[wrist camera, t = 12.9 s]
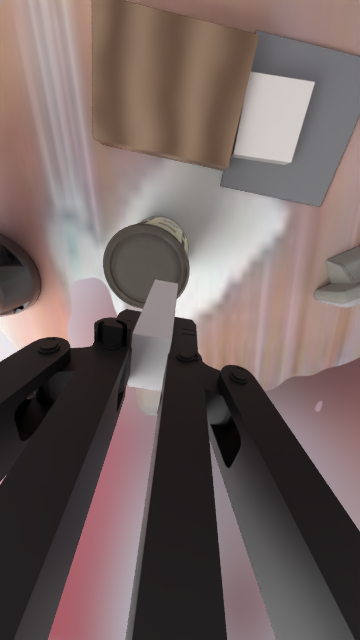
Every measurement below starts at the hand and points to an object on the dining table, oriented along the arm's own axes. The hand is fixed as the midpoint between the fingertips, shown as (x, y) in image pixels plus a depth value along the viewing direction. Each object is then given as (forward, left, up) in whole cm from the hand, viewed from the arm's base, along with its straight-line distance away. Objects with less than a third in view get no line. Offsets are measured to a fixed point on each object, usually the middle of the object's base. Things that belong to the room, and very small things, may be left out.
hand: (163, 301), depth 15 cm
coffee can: (-3, -2, -27) cm, 27 cm away
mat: (+13, +17, -26) cm, 34 cm away
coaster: (+9, +17, -26) cm, 32 cm away
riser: (-4, +17, -26) cm, 32 cm away
